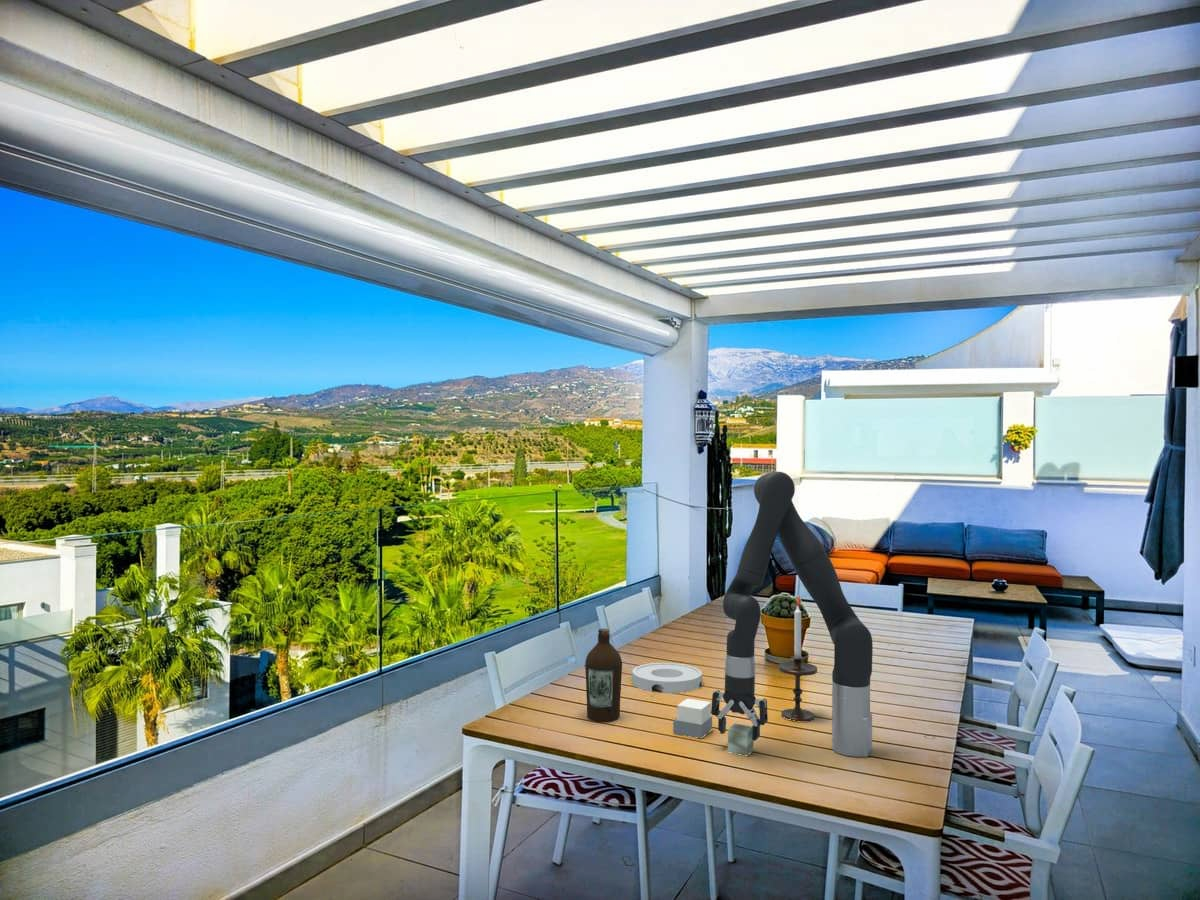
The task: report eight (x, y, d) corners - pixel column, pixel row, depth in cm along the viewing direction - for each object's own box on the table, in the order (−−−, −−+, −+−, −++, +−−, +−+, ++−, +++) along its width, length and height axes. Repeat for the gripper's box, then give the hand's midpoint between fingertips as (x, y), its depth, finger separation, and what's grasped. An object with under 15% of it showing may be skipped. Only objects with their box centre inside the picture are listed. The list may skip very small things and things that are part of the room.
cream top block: (710, 717, 211) (711, 702, 211) (701, 724, 205) (701, 709, 205) (687, 712, 215) (687, 698, 215) (677, 720, 208) (677, 705, 209)
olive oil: (589, 709, 228) (590, 624, 229) (625, 712, 226) (625, 626, 226) (580, 721, 218) (581, 632, 218) (617, 724, 216) (618, 634, 216)
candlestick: (802, 709, 230) (802, 591, 231) (825, 720, 220) (825, 597, 220) (770, 713, 226) (771, 593, 227) (792, 725, 216) (793, 599, 217)
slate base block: (712, 731, 212) (712, 716, 212) (700, 740, 205) (700, 725, 205) (685, 726, 216) (685, 711, 216) (673, 734, 209) (673, 719, 209)
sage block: (753, 750, 197) (753, 726, 197) (746, 756, 193) (746, 732, 193) (734, 746, 199) (734, 723, 200) (727, 753, 195) (727, 729, 195)
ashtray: (652, 697, 242) (652, 684, 242) (620, 678, 263) (620, 666, 263) (715, 689, 251) (715, 676, 251) (679, 671, 272) (679, 660, 272)
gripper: (771, 673, 196) (770, 737, 196) (719, 664, 204) (718, 726, 204) (762, 680, 190) (760, 746, 190) (708, 671, 197) (706, 735, 197)
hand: (738, 736), depth 197 cm, fingers open, 8 cm apart
